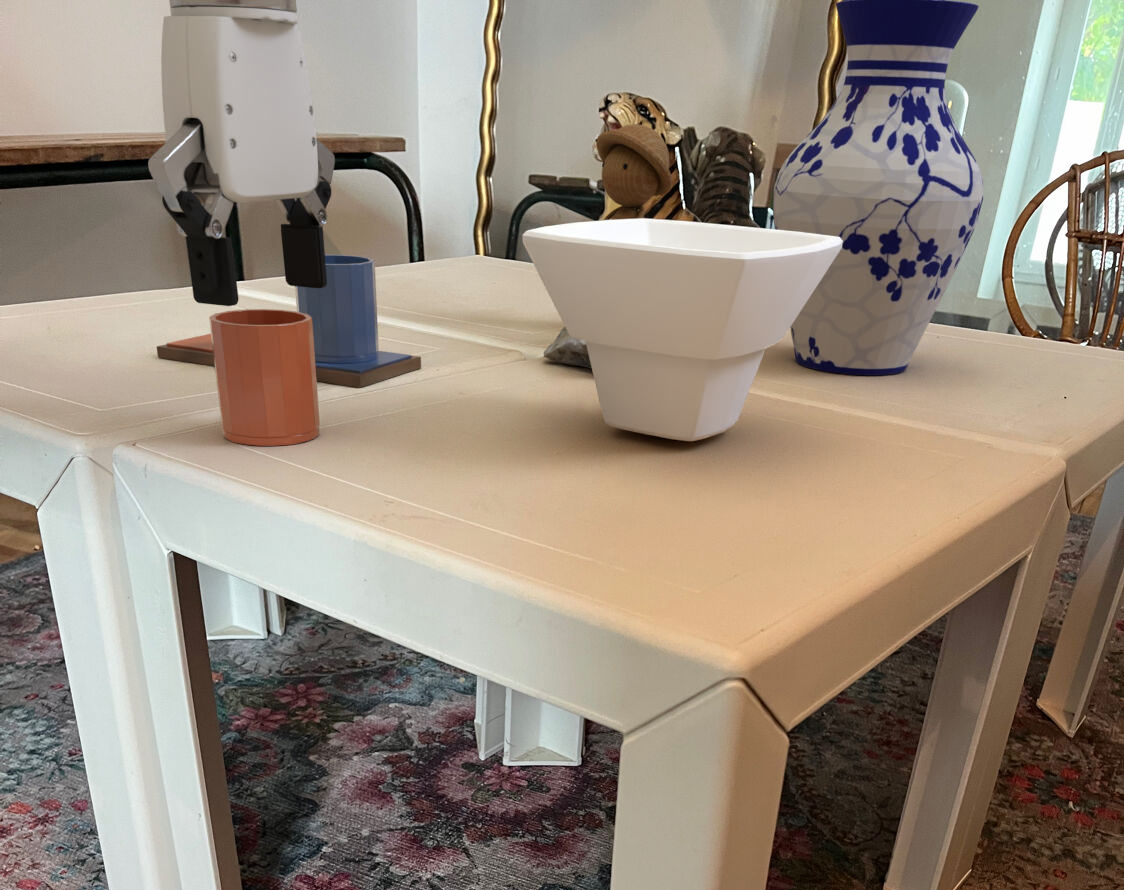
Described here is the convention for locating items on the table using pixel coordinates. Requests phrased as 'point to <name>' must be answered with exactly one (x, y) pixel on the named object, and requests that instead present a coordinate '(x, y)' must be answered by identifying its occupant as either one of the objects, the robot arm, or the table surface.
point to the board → (325, 372)
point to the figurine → (633, 168)
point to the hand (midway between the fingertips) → (263, 294)
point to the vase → (883, 189)
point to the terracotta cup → (265, 376)
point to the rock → (568, 350)
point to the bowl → (677, 311)
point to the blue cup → (343, 311)
